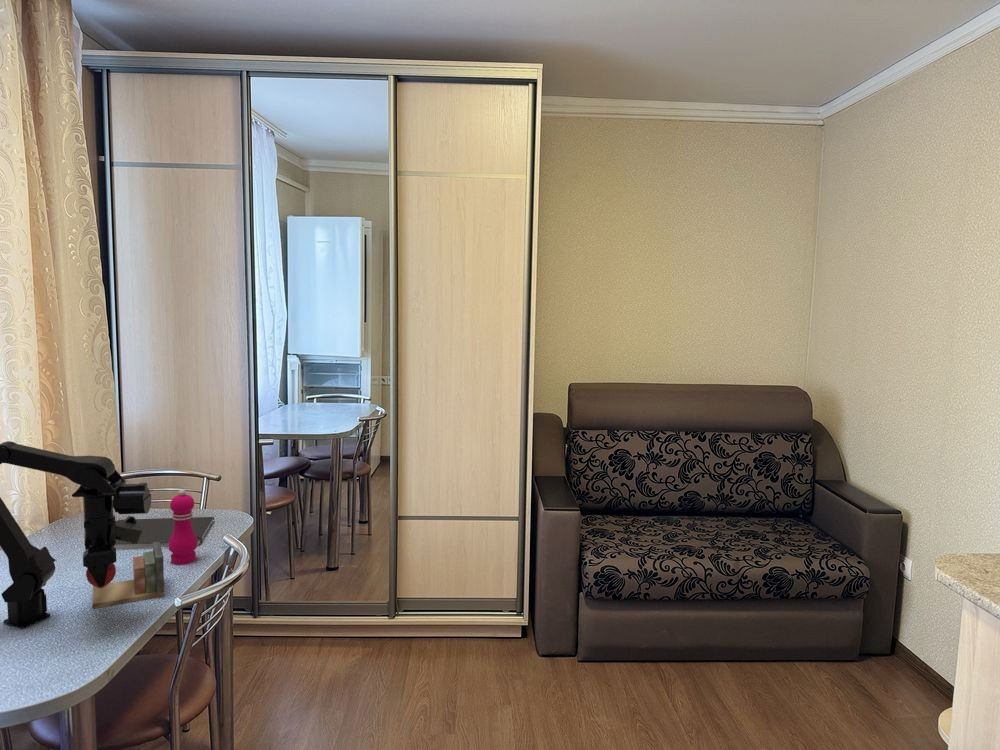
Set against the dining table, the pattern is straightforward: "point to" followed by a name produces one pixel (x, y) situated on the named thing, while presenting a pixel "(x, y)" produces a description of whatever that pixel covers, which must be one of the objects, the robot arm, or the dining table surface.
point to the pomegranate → (109, 576)
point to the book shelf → (118, 594)
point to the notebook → (163, 532)
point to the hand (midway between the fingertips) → (101, 581)
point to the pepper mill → (182, 530)
